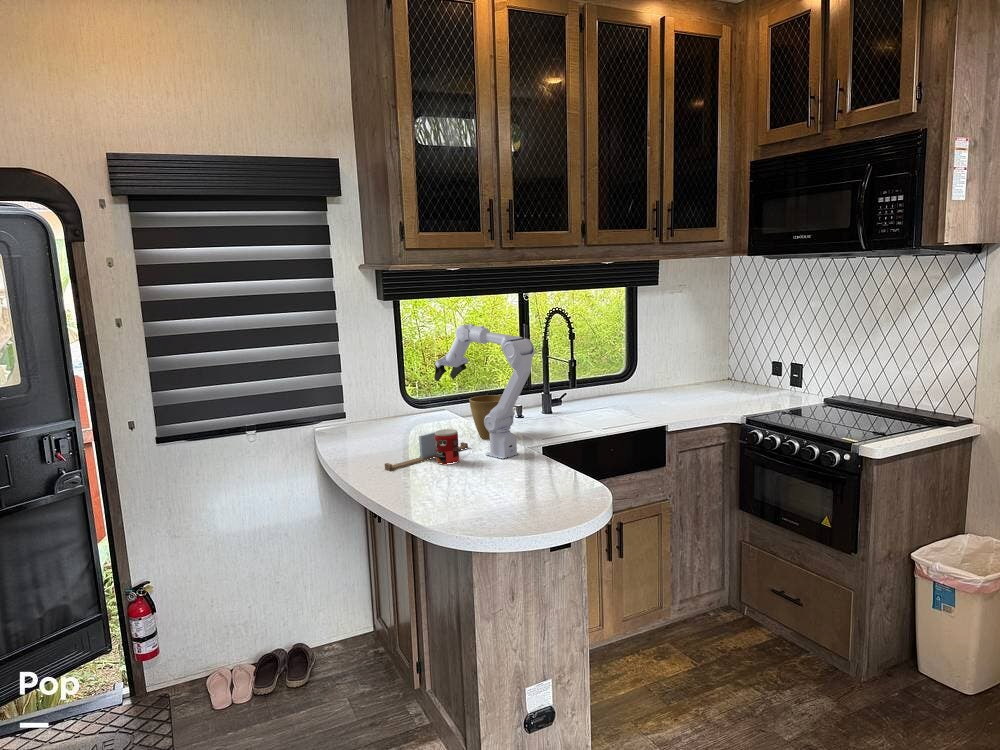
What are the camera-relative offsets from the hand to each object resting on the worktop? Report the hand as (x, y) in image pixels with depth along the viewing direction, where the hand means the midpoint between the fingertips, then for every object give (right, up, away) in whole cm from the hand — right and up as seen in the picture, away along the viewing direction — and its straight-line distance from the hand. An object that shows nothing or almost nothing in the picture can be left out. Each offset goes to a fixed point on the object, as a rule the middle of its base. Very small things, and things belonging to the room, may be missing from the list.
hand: (444, 378), depth 263 cm
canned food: (+3, -30, -20) cm, 36 cm away
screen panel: (-3, -29, -13) cm, 31 cm away
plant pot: (+17, -24, +12) cm, 32 cm away
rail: (-5, -29, -14) cm, 32 cm away
